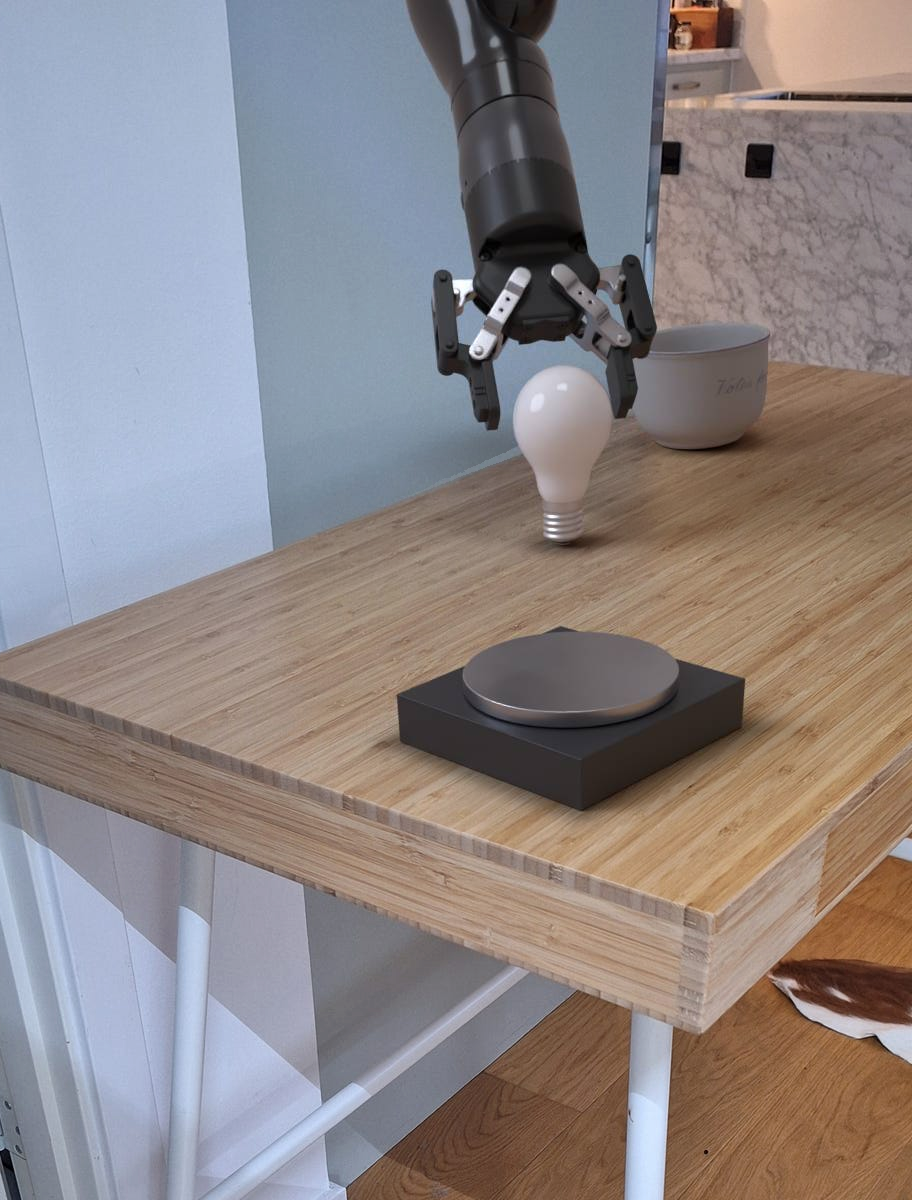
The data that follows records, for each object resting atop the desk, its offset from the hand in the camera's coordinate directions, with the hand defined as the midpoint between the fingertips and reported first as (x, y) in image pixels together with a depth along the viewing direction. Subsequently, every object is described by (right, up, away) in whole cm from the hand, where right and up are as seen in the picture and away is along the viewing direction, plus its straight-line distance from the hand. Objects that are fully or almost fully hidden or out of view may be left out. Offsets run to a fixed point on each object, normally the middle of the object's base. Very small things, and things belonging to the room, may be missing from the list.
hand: (559, 417), depth 95 cm
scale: (-1, -25, -22) cm, 33 cm away
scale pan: (-2, -23, -23) cm, 33 cm away
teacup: (+14, +9, +25) cm, 30 cm away
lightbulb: (+1, -7, +4) cm, 8 cm away
